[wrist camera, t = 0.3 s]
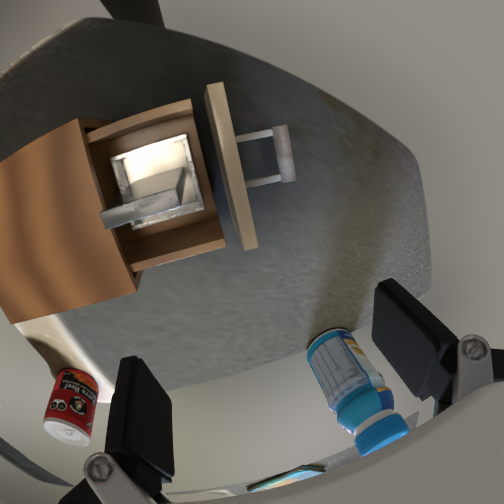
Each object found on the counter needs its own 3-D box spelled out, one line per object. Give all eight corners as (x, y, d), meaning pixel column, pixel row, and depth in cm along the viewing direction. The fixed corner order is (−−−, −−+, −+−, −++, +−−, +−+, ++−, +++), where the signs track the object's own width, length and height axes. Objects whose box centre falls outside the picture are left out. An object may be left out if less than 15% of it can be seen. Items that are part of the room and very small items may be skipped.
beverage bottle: (310, 329, 39) (373, 441, 21) (357, 323, 41) (427, 416, 23) (299, 367, 43) (346, 470, 25) (343, 360, 44) (397, 449, 27)
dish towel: (325, 467, 73) (328, 472, 71) (273, 490, 76) (275, 495, 74) (302, 463, 65) (304, 470, 63) (245, 487, 68) (246, 493, 66)
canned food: (107, 384, 37) (97, 440, 27) (88, 401, 38) (79, 450, 28) (68, 359, 34) (50, 414, 24) (53, 379, 35) (37, 428, 25)
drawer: (264, 86, 24) (287, 72, 17) (287, 208, 30) (314, 232, 23) (70, 143, 22) (35, 149, 16) (109, 258, 28) (90, 293, 21)
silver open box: (117, 155, 23) (70, 173, 13) (186, 133, 24) (180, 133, 14) (137, 222, 26) (109, 275, 16) (204, 202, 27) (211, 246, 17)
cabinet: (111, 120, 23) (77, 117, 15) (150, 248, 30) (137, 292, 21) (0, 178, 21) (-46, 198, 13) (41, 282, 28) (11, 324, 20)
